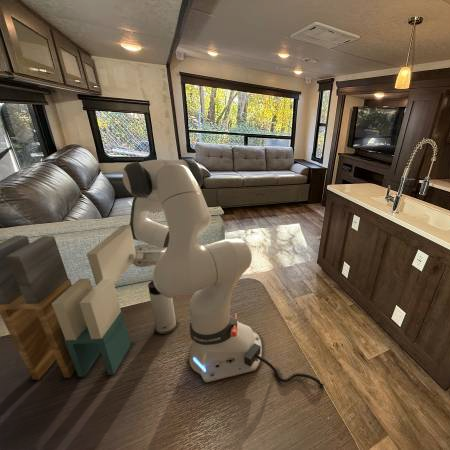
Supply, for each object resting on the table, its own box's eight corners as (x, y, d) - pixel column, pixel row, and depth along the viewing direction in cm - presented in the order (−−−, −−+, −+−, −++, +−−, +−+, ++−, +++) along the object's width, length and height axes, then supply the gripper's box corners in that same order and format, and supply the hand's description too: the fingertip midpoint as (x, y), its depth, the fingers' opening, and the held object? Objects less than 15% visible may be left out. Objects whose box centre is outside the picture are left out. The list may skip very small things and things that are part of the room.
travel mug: (169, 336, 84) (161, 288, 76) (151, 331, 85) (142, 284, 77) (180, 322, 89) (174, 277, 82) (164, 318, 90) (157, 273, 83)
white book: (137, 257, 89) (130, 224, 84) (107, 292, 72) (96, 254, 67) (129, 257, 89) (122, 224, 83) (98, 292, 71) (86, 254, 66)
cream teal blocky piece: (130, 345, 79) (114, 278, 69) (113, 374, 70) (91, 302, 60) (99, 346, 78) (78, 278, 68) (78, 376, 69) (49, 303, 59)
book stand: (92, 346, 78) (55, 236, 62) (70, 377, 69) (20, 256, 53) (60, 348, 76) (14, 235, 61) (32, 379, 67) (-30, 256, 52)
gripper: (115, 247, 95) (91, 246, 82) (171, 247, 99) (158, 247, 85) (113, 263, 95) (89, 265, 81) (170, 263, 98) (156, 265, 84)
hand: (125, 256), depth 83 cm, fingers closed on white book, 2 cm apart
